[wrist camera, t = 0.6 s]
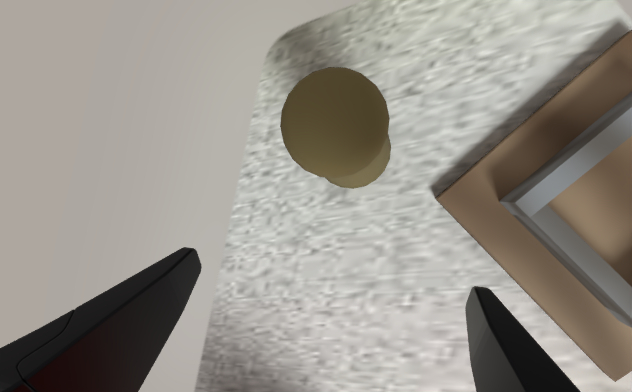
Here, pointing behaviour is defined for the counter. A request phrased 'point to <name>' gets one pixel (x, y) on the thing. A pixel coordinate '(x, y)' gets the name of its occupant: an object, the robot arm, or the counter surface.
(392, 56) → the counter surface
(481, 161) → the socket base
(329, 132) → the cork
